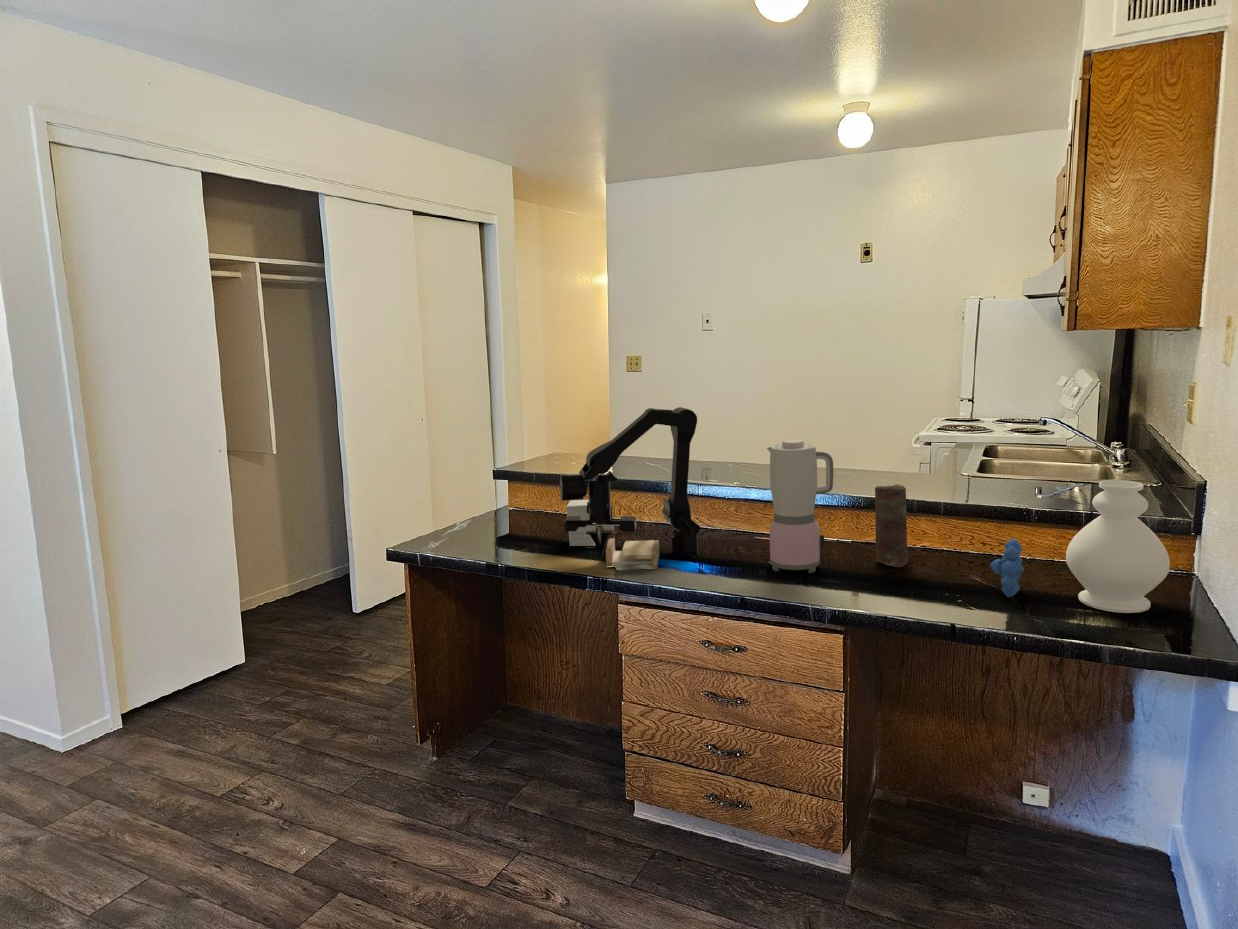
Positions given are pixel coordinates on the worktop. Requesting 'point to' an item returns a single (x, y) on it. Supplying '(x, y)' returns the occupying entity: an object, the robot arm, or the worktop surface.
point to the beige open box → (640, 553)
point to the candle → (891, 525)
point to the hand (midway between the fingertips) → (601, 554)
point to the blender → (796, 505)
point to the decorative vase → (1118, 552)
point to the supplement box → (580, 534)
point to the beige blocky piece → (615, 559)
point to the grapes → (1009, 567)
